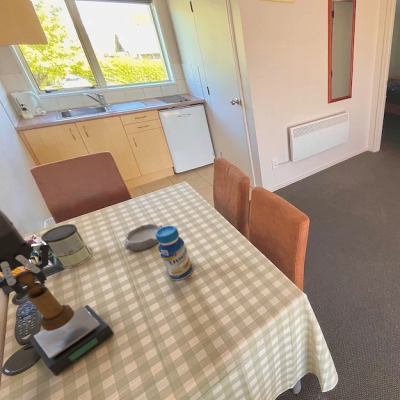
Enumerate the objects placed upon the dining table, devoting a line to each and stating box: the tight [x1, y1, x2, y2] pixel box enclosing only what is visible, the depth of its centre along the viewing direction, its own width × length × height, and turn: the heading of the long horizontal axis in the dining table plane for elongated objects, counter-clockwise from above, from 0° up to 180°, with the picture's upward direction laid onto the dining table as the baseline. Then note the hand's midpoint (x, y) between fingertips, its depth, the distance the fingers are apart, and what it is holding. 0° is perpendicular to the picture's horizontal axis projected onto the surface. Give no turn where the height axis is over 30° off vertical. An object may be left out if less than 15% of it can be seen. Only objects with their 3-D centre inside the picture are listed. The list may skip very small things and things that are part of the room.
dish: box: [124, 223, 163, 252], centre depth 117 cm, size 14×14×5 cm
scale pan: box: [33, 305, 101, 359], centre depth 76 cm, size 12×12×1 cm
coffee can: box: [40, 223, 93, 269], centre depth 105 cm, size 10×10×14 cm
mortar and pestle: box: [15, 270, 75, 331], centre depth 69 cm, size 7×6×18 cm
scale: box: [29, 304, 115, 377], centre depth 77 cm, size 14×14×5 cm
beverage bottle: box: [155, 225, 194, 281], centre depth 97 cm, size 8×8×20 cm
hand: (33, 287), depth 67 cm, fingers closed on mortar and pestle, 3 cm apart
